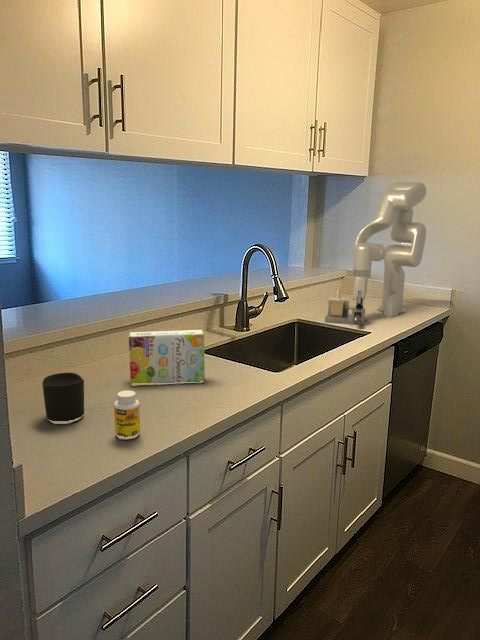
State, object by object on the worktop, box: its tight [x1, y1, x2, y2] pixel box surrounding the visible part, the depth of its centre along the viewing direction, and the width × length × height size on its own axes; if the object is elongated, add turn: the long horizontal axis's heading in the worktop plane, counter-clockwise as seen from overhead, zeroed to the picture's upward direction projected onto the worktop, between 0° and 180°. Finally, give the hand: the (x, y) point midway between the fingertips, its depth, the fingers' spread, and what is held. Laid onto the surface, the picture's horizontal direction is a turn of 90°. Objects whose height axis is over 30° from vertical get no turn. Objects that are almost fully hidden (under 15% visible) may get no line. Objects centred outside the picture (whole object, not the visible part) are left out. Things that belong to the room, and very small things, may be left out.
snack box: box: [128, 329, 205, 385], centre depth 152 cm, size 21×6×15 cm, turn 100°
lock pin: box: [353, 312, 362, 324], centre depth 224 cm, size 14×4×4 cm, turn 163°
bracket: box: [324, 300, 367, 326], centre depth 232 cm, size 12×17×8 cm
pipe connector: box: [326, 289, 350, 303], centre depth 253 cm, size 10×10×10 cm
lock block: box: [331, 300, 344, 317], centre depth 233 cm, size 7×5×6 cm
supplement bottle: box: [113, 390, 141, 437], centre depth 118 cm, size 6×6×10 cm
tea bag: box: [383, 294, 399, 319], centre depth 243 cm, size 4×7×10 cm, turn 137°
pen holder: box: [42, 372, 85, 421], centre depth 127 cm, size 9×9×10 cm
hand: (358, 314), depth 232 cm, fingers closed
